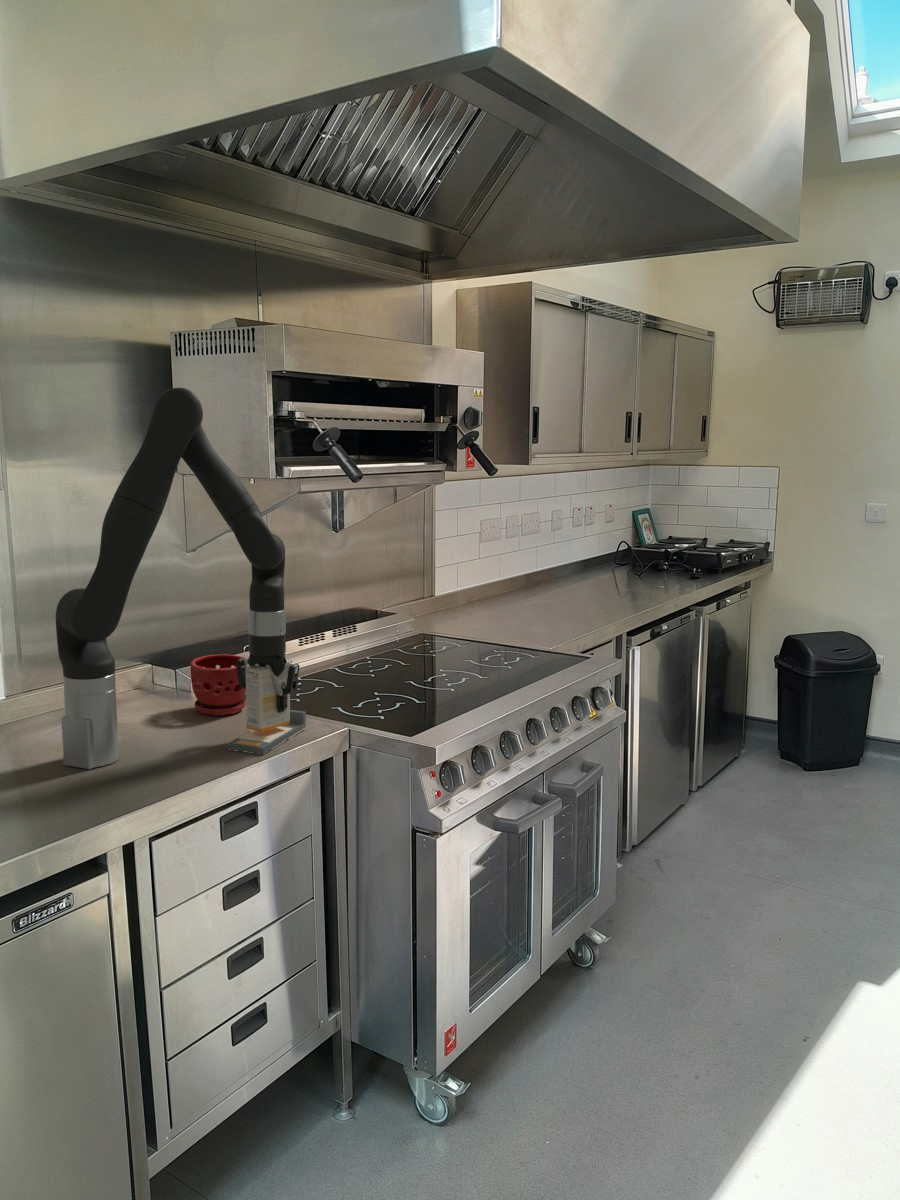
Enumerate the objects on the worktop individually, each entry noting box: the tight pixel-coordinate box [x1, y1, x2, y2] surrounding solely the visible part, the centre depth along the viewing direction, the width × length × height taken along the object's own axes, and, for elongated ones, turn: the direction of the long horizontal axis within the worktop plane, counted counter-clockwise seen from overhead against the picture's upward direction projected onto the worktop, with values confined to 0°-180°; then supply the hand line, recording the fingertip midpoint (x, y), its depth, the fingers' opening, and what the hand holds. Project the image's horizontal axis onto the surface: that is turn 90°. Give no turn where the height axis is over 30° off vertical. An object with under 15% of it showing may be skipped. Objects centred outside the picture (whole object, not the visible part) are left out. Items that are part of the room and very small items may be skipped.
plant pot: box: [190, 653, 246, 716], centre depth 207 cm, size 13×13×12 cm
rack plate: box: [227, 709, 307, 755], centre depth 188 cm, size 18×8×4 cm, turn 161°
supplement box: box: [245, 666, 291, 732], centre depth 187 cm, size 8×5×13 cm, turn 141°
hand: (267, 709), depth 187 cm, fingers closed on supplement box, 6 cm apart
